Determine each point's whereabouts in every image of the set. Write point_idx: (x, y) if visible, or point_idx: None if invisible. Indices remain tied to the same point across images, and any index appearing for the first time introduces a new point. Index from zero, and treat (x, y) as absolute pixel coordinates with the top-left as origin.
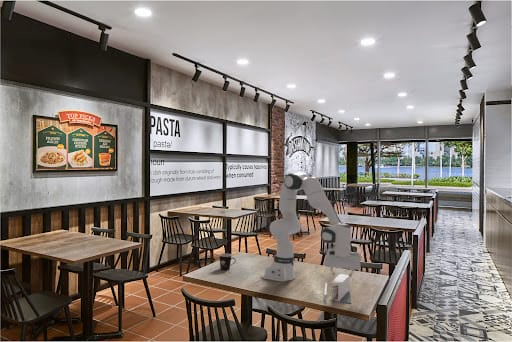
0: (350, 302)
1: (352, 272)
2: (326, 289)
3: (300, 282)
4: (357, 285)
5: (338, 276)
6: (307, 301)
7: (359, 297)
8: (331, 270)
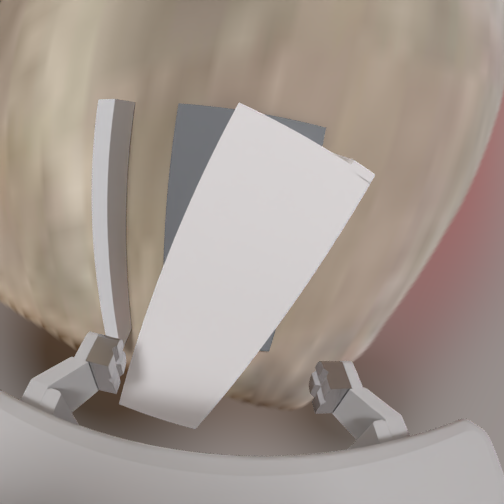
0: (264, 349)
1: (356, 428)
2: (107, 267)
3: (3, 47)
4: (402, 17)
5: (187, 250)
6: (57, 330)
7: (353, 250)
8: (69, 400)
